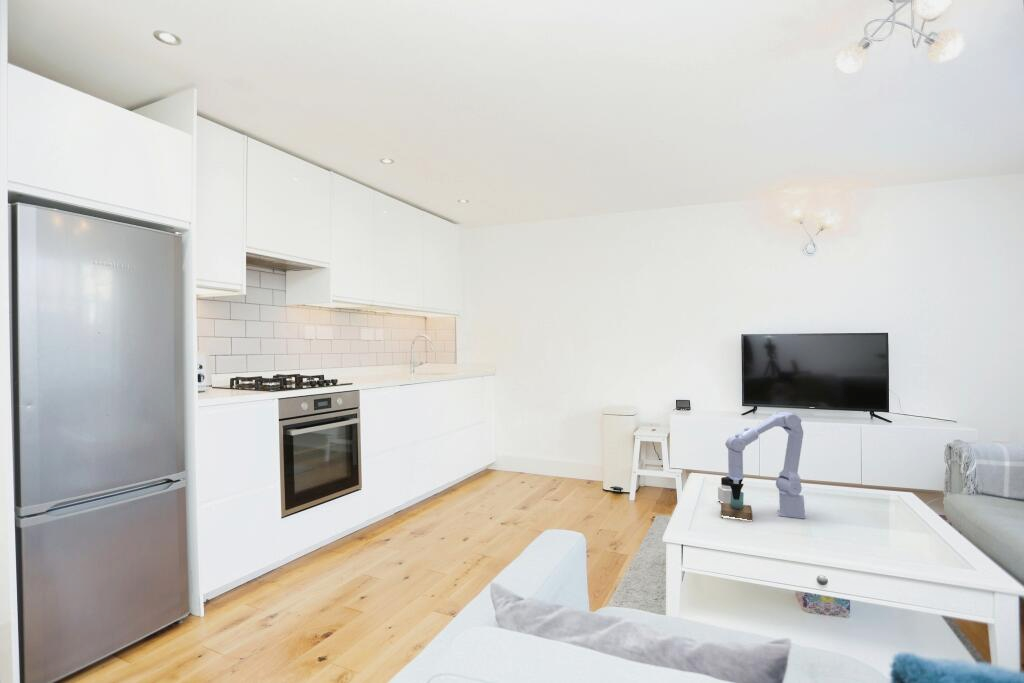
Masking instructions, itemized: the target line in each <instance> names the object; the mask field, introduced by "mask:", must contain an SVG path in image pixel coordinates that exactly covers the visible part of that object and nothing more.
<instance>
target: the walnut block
mask: <svg viewBox="0 0 1024 683" xmlns="http://www.w3.org/2000/svg"><path fill="white" fill-rule="evenodd" d="M721 515H723V516H729V517H735V518H742V519H747V520H752V521H753V510H752V505H749V504H743V509H735V508H731V507H730V503H720V516H721Z"/></svg>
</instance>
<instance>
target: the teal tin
mask: <svg viewBox="0 0 1024 683" xmlns="http://www.w3.org/2000/svg"><path fill="white" fill-rule="evenodd" d="M744 494H745V493H744V492H743V491H741V492H740V498H739V500H735V499H733V494H732V491H731V503H730V507H731V508H735V509H743V505H744Z"/></svg>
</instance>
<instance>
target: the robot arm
mask: <svg viewBox="0 0 1024 683" xmlns="http://www.w3.org/2000/svg"><path fill="white" fill-rule="evenodd" d="M774 427H780V428H783V430H784V431H785V432H786V433H787V434H788V437H787V443H786V449H785V450H786V451H785V456H784V462H783V463H784V464H783V468H782V470H781V471H780V472H779V473H778V477H777V478H776V481H775V486H776V488H777V489H778V495H779V497H778V498H779V509H778V510H777V512H778V516H779V517H787V518H794V519H796V518H797V519H805V518H806V515H805V514H806V513H805V512H806V511H805V497H804V495H802V494H801V493H802V489H803V488H802V483H801V482H802V479H801V477H800V475H799V474H798V472H799V466H800V465H799V464H800V458H801V451H802V444H803V439H804V429H803V425H802V419H801V417H800V416H799V415H797V414H796V413H793V412H786V411H784V410H783V411H782V410H779V411H776V412H774V413H773V414H771V415H770V417H768V418H767V419H765V420H764V421H762V422H761V423H760V422H759V424H758V425H756V426H755V427H751V426H750V427H745V428H743V429H744V430H742V431H741V432H739V433H736V434H734V435H735V436H729V437H728V438H727V439H726V441H725V444H724V445H725V447H726V448H727V452H728V453H727V457H728V458H727V460H728V461H727V462H728V463H727V464H728V474H725V477H729V480H730V482H729V485H730V487H731V489H732V494H733V499H735V500H739V498H740V492H742V488H743V487H744V483H742V482H743V480H744V459H743V458H744V457H743V456H744V455H743V453H744V452H743V451H744V450H745V448H746V447H747V446H748V445H749V444H752V443H753V442H755V441H757V440H759V436H760V435H761V434H764V433H765V432H766V431H768V430H771V429H773V428H774Z"/></svg>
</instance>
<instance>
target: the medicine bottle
mask: <svg viewBox="0 0 1024 683" xmlns="http://www.w3.org/2000/svg"><path fill="white" fill-rule="evenodd" d="M720 479H721V482H720V485H719V486H717V500H718V499H719V500H720V501H722V502H723V503H731V491H732V489H731V487H730V485H729V482H730V480H729V477H726V476H722V477H721V478H720Z"/></svg>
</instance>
